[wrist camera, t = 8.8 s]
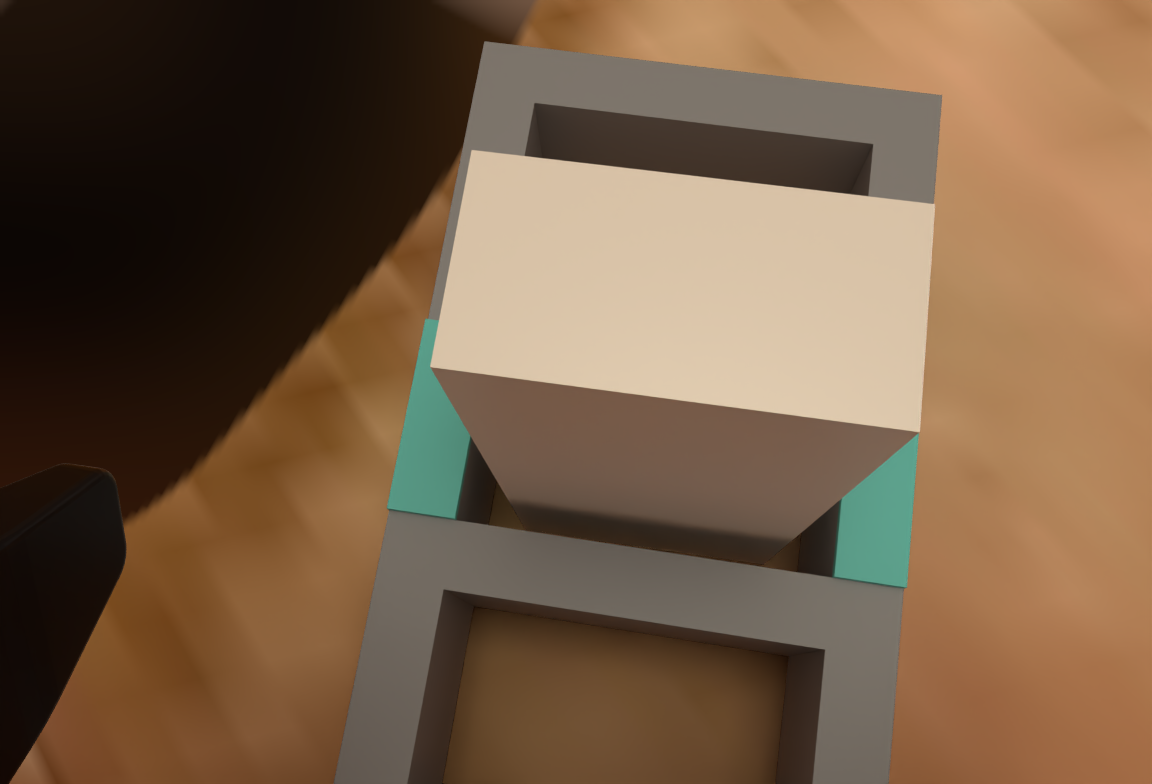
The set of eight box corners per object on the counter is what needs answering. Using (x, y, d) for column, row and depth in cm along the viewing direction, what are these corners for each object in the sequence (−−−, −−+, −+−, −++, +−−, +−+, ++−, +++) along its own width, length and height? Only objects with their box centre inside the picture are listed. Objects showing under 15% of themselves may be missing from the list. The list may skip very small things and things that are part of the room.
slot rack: (825, 917, 21) (876, 974, 16) (371, 837, 21) (312, 872, 17) (891, 188, 24) (945, 89, 20) (505, 140, 25) (483, 35, 21)
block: (763, 564, 22) (919, 432, 11) (525, 530, 23) (429, 366, 11) (775, 447, 23) (934, 204, 11) (544, 416, 23) (471, 149, 12)
